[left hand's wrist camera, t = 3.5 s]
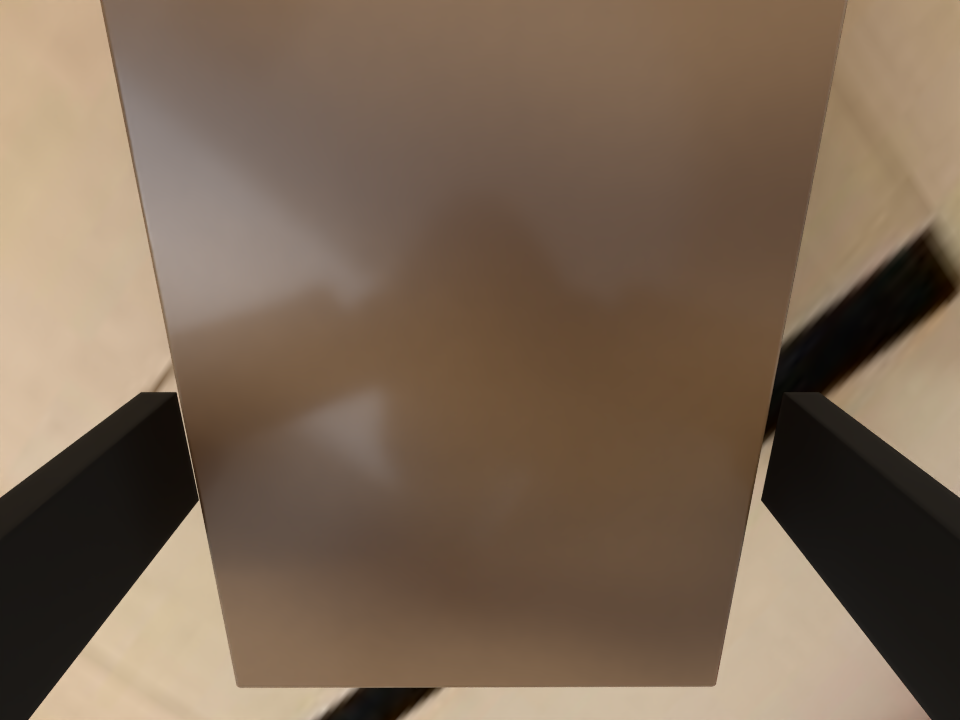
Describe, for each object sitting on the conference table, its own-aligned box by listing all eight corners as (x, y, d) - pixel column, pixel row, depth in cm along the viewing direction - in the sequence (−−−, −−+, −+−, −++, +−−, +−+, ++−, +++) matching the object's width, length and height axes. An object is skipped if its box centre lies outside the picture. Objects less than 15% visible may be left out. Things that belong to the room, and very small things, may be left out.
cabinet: (248, -348, 13) (-141, -1185, 5) (702, -347, 13) (1079, -1176, 5) (332, 472, 20) (235, 690, 12) (621, 471, 20) (717, 688, 12)
